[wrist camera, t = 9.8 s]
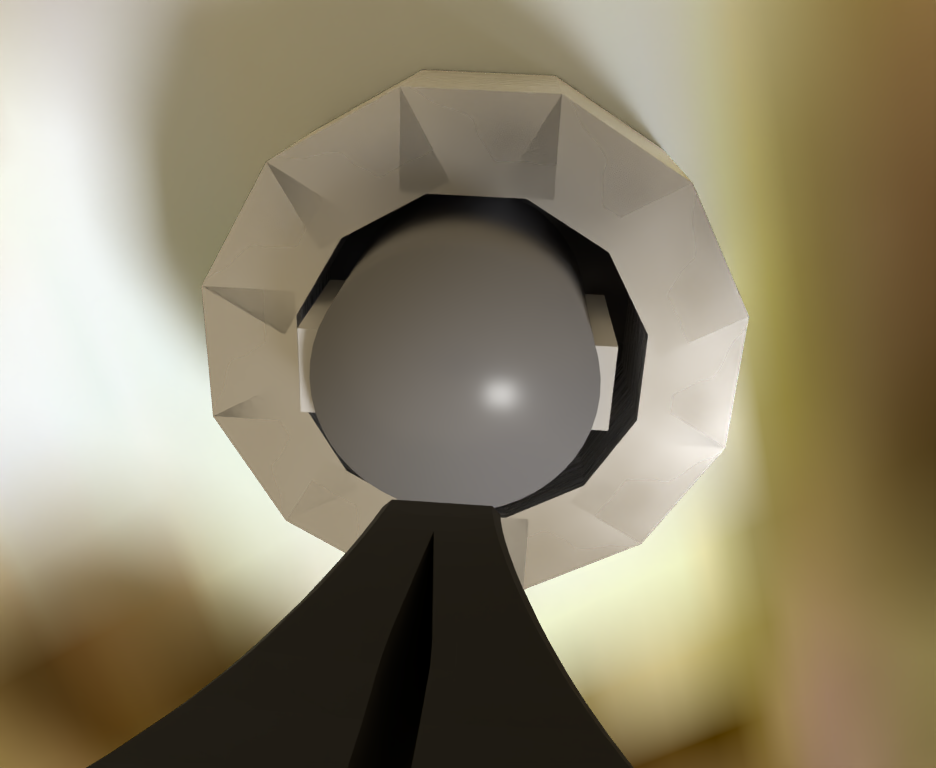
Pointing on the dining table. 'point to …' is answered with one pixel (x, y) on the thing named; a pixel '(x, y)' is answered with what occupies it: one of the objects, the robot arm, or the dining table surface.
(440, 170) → the faceted ring
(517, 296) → the cap
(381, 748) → the robot arm
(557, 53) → the dining table surface
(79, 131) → the dining table surface
